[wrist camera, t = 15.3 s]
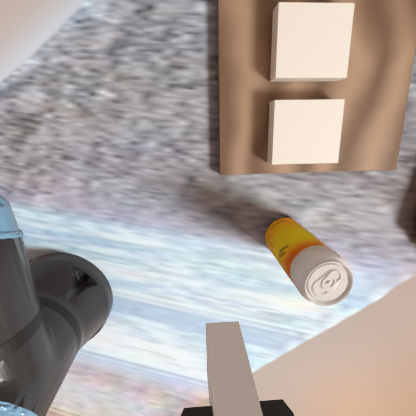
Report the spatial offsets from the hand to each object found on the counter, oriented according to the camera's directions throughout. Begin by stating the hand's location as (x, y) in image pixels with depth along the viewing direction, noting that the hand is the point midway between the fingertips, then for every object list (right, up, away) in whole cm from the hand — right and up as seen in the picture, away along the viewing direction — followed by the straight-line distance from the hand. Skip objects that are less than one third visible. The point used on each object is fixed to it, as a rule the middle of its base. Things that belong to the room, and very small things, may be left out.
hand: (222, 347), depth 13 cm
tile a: (+16, +27, +21) cm, 38 cm away
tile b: (+17, +17, +24) cm, 34 cm away
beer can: (+11, +2, +31) cm, 33 cm away
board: (+14, +23, +25) cm, 37 cm away
